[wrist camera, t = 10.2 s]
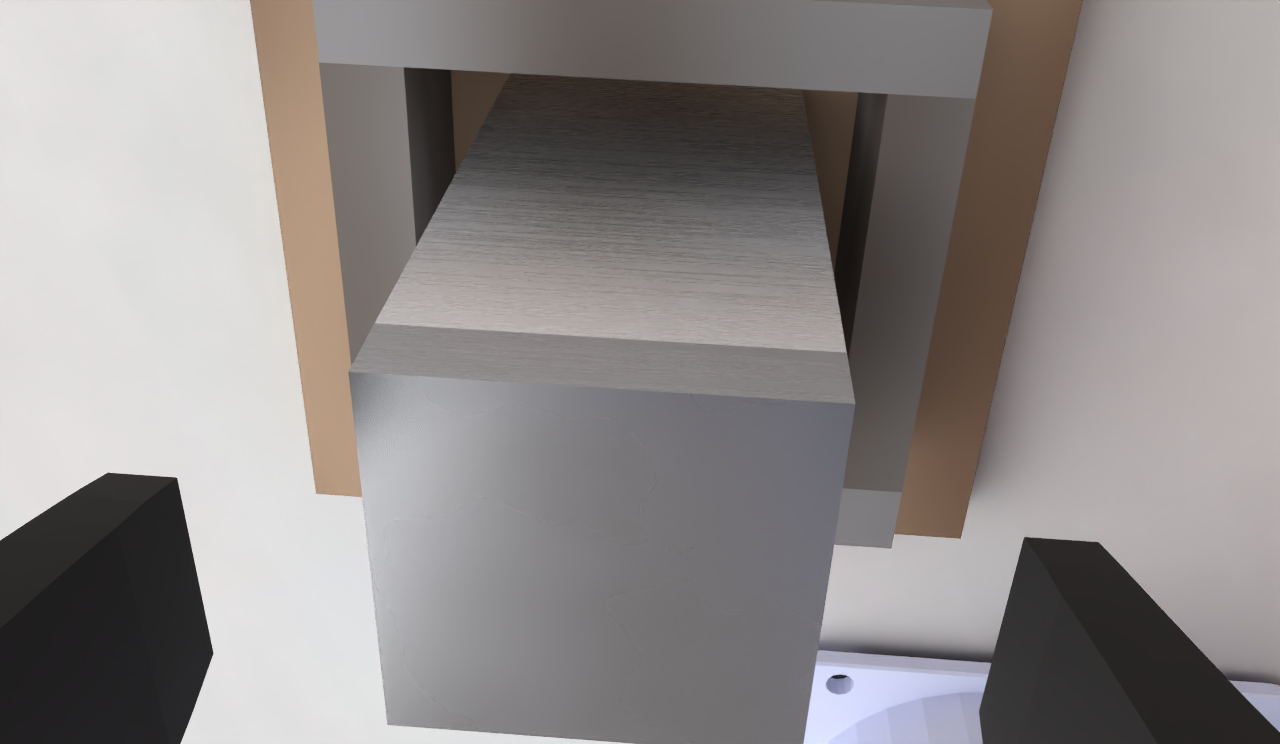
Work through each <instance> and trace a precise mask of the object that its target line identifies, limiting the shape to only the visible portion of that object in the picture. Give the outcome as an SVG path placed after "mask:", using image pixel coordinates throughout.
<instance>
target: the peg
mask: <svg viewBox="0 0 1280 744" xmlns="http://www.w3.org/2000/svg"><path fill="white" fill-rule="evenodd" d="M348 373H349V382H350V391H351V400H352V409H353V418H354V427H355V436H356V445H357V454H358V463H359V472H360V481H361V490H362V499H363V508H364V517H365V526H366V535H367V544H368V553H369V562H370V571H371V580H372V589H373V598H374V607H375V616H376V625H377V634H378V643H379V652H380V661H381V670H382V679H383V688H384V697H385V706H386V715H387V724H388V725H397V726H411V727H424V728H437V729H450V730H464V731H477V732H490V733H503V734H516V735H530V736H543V737H556V738H569V739H583V740H596V741H609V742H622V743H636V744H803V743H804V737H805V730H806V724H807V717H808V711H809V704H810V698H811V691H812V685H813V678H814V672H815V665H816V658H817V652H818V645H819V639H820V632H821V626H822V619H823V613H824V606H825V600H826V593H827V587H828V580H829V574H830V567H831V560H832V554H833V547H834V541H835V534H836V528H837V521H838V515H839V508H840V502H841V495H842V489H843V482H844V476H845V469H846V462H847V456H848V449H849V443H850V436H851V430H852V423H853V417H854V410H855V398H854V392H853V386H852V381H851V375H850V369H849V363H848V357H847V351H846V345H845V339H844V333H843V327H842V322H841V316H840V310H839V304H838V298H837V292H836V286H835V280H834V274H833V268H832V263H831V257H830V251H829V245H828V239H827V233H826V227H825V221H824V215H823V209H822V203H821V198H820V192H819V186H818V180H817V174H816V168H815V162H814V156H813V150H812V144H811V139H810V133H809V127H808V121H807V115H806V109H805V103H804V97H803V91H802V89H790V88H772V87H754V86H735V85H717V84H699V83H681V82H663V81H645V80H627V79H609V78H591V77H573V76H554V75H536V74H518V73H510V75H509V76H508V78H507V80H506V82H505V84H504V86H503V87H502V89H501V91H500V93H499V95H498V97H497V98H496V100H495V102H494V104H493V106H492V108H491V110H490V111H489V113H488V115H487V117H486V119H485V121H484V122H483V124H482V126H481V128H480V130H479V132H478V134H477V135H476V137H475V139H474V141H473V143H472V145H471V146H470V148H469V150H468V152H467V154H466V156H465V157H464V159H463V161H462V163H461V165H460V167H459V169H458V170H457V172H456V174H455V176H454V178H453V180H452V181H451V183H450V185H449V187H448V189H447V191H446V193H445V194H444V196H443V198H442V200H441V202H440V204H439V205H438V207H437V209H436V211H435V213H434V215H433V217H432V218H431V220H430V222H429V224H428V226H427V228H426V229H425V231H424V233H423V235H422V237H421V239H420V240H419V242H418V244H417V246H416V248H415V250H414V252H413V253H412V255H411V257H410V259H409V261H408V263H407V264H406V266H405V268H404V270H403V272H402V274H401V276H400V277H399V279H398V281H397V283H396V285H395V287H394V288H393V290H392V292H391V294H390V296H389V298H388V300H387V301H386V303H385V305H384V307H383V309H382V311H381V312H380V314H379V316H378V318H377V320H376V322H375V323H374V325H373V327H372V329H371V331H370V333H369V335H368V336H367V338H366V340H365V342H364V344H363V346H362V347H361V349H360V351H359V353H358V355H357V357H356V359H355V360H354V362H353V364H352V366H351V368H350V370H349V371H348Z"/></svg>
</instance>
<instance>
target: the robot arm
mask: <svg viewBox="0 0 1280 744" xmlns="http://www.w3.org/2000/svg"><path fill="white" fill-rule="evenodd" d="M212 656H213V649H212V645H211V640H210V635H209V630H208V625H207V620H206V616H205V611H204V606H203V601H202V596H201V591H200V587H199V582H198V577H197V572H196V567H195V563H194V558H193V553H192V548H191V543H190V538H189V534H188V529H187V524H186V519H185V514H184V509H183V505H182V500H181V495H180V490H179V485H178V480H177V478H174V477H159V476H145V475H131V474H117V473H107V474H105V475H103V476H102V477H100V478H98V479H96V480H95V481H93V482H91V483H89V484H88V485H86V486H84V487H83V488H81V489H79V490H78V491H76V492H75V493H73V494H71V495H70V496H68V497H67V498H65V499H63V500H62V501H60V502H59V503H57V504H56V505H54V506H52V507H51V508H49V509H48V510H46V511H45V512H43V513H42V514H40V515H39V516H37V517H35V518H34V519H32V520H31V521H29V522H28V523H26V524H25V525H23V526H22V527H20V528H19V529H17V530H16V531H14V532H13V533H11V534H10V535H8V536H6V537H5V538H3V539H2V540H0V744H180V743H181V741H182V738H183V736H184V733H185V730H186V728H187V725H188V723H189V720H190V717H191V715H192V712H193V710H194V707H195V704H196V701H197V698H198V695H199V693H200V690H201V687H202V684H203V681H204V678H205V676H206V673H207V670H208V667H209V664H210V661H211V659H212ZM839 674H843V675H846V676H847V677H845V678H842V679H834V678H830V677H832V676H834V675H839ZM803 744H1280V685H1275V684H1271V683H1258V682H1244V681H1231V680H1228V679H1227V678H1226V677H1225V676H1224V675H1223V674H1222V673H1221V672H1220V671H1219V670H1218V669H1217V668H1216V667H1215V665H1214V664H1213V663H1212V662H1211V661H1210V660H1209V659H1208V658H1207V657H1206V656H1205V655H1204V654H1203V653H1202V652H1201V651H1200V650H1199V649H1198V647H1197V646H1196V645H1195V644H1194V643H1193V642H1192V641H1191V640H1190V639H1189V638H1188V637H1187V636H1186V635H1185V634H1184V633H1183V631H1182V630H1181V629H1180V628H1179V627H1178V626H1177V625H1176V624H1175V623H1174V622H1173V621H1172V620H1171V619H1170V618H1169V617H1168V615H1167V614H1166V613H1165V612H1164V611H1163V610H1162V609H1161V608H1160V607H1159V606H1158V605H1157V604H1156V602H1155V601H1154V600H1153V599H1152V598H1151V597H1150V596H1149V595H1148V594H1147V593H1146V592H1145V591H1144V590H1143V588H1142V587H1141V586H1140V585H1139V584H1138V583H1137V582H1136V581H1135V580H1134V579H1133V578H1132V577H1131V576H1130V575H1129V573H1128V572H1127V571H1126V570H1125V569H1124V568H1123V567H1122V566H1121V565H1120V564H1119V563H1118V562H1117V561H1116V560H1115V559H1114V558H1113V557H1112V556H1111V555H1110V554H1109V553H1108V552H1107V550H1106V549H1105V548H1104V547H1103V546H1102V545H1101V544H1100V543H1099V542H1086V541H1072V540H1057V539H1043V538H1029V537H1024V540H1023V544H1022V548H1021V552H1020V556H1019V559H1018V563H1017V567H1016V571H1015V575H1014V578H1013V582H1012V586H1011V590H1010V594H1009V598H1008V601H1007V605H1006V609H1005V613H1004V617H1003V621H1002V624H1001V628H1000V632H999V636H998V640H997V644H996V647H995V651H994V655H993V659H992V663H986V662H972V661H958V660H945V659H931V658H917V657H904V656H890V655H877V654H863V653H849V652H836V651H822V650H818V652H817V658H816V665H815V672H814V678H813V685H812V691H811V698H810V704H809V711H808V717H807V724H806V730H805V737H804V743H803Z"/></svg>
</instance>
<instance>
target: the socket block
mask: <svg viewBox="0 0 1280 744" xmlns="http://www.w3.org/2000/svg"><path fill="white" fill-rule="evenodd" d="M1082 1H1083V0H250V3H251V11H252V18H253V26H254V33H255V41H256V48H257V56H258V63H259V71H260V78H261V86H262V93H263V100H264V108H265V115H266V123H267V130H268V138H269V145H270V153H271V160H272V168H273V175H274V183H275V190H276V198H277V205H278V212H279V220H280V227H281V235H282V242H283V250H284V257H285V265H286V272H287V280H288V287H289V295H290V302H291V309H292V317H293V324H294V332H295V339H296V347H297V354H298V362H299V369H300V377H301V384H302V392H303V399H304V406H305V414H306V421H307V429H308V436H309V444H310V451H311V459H312V466H313V474H314V481H315V489H316V494H328V495H342V496H356V497H362V490H361V481H360V472H359V463H358V454H357V445H356V436H355V427H354V418H353V409H352V400H351V391H350V382H349V373H348V371H349V370H350V368H351V366H352V364H353V362H354V360H355V359H356V357H357V355H358V353H359V351H360V349H361V347H362V346H363V344H364V342H365V340H366V338H367V336H368V335H369V333H370V331H371V329H372V327H373V325H374V323H375V322H376V320H377V318H378V316H379V314H380V312H381V311H382V309H383V307H384V305H385V303H386V301H387V300H388V298H389V296H390V294H391V292H392V290H393V288H394V287H395V285H396V283H397V281H398V279H399V277H400V276H401V274H402V272H403V270H404V268H405V266H406V264H407V263H408V261H409V259H410V257H411V255H412V253H413V252H414V250H415V248H416V246H417V244H418V242H419V240H420V239H421V237H422V235H423V233H424V231H425V229H426V228H427V226H428V224H429V222H430V220H431V218H432V217H433V215H434V213H435V211H436V209H437V207H438V205H439V204H440V202H441V200H442V198H443V196H444V194H445V193H446V191H447V189H448V187H449V185H450V183H451V181H452V180H453V178H454V176H455V174H456V172H457V170H458V169H459V167H460V165H461V163H462V161H463V159H464V157H465V156H466V154H467V152H468V150H469V148H470V146H471V145H472V143H473V141H474V139H475V137H476V135H477V134H478V132H479V130H480V128H481V126H482V124H483V122H484V121H485V119H486V117H487V115H488V113H489V111H490V110H491V108H492V106H493V104H494V102H495V100H496V98H497V97H498V95H499V93H500V91H501V89H502V87H503V86H504V84H505V82H506V80H507V78H508V76H509V75H510V73H518V74H536V75H554V76H573V77H591V78H609V79H627V80H645V81H663V82H681V83H699V84H717V85H735V86H754V87H772V88H790V89H802V91H803V97H804V103H805V109H806V115H807V121H808V127H809V133H810V139H811V144H812V150H813V156H814V162H815V168H816V174H817V180H818V186H819V192H820V198H821V203H822V209H823V215H824V221H825V227H826V233H827V239H828V245H829V251H830V257H831V263H832V268H833V274H834V280H835V286H836V292H837V298H838V304H839V310H840V316H841V322H842V327H843V333H844V339H845V345H846V351H847V357H848V363H849V369H850V375H851V381H852V386H853V392H854V398H855V410H854V417H853V423H852V430H851V436H850V443H849V449H848V456H847V462H846V469H845V476H844V482H843V489H842V495H841V502H840V508H839V515H838V521H837V528H836V534H835V541H834V544H835V545H850V546H864V547H878V548H892V542H893V537H894V534H903V535H918V536H932V537H946V538H961V535H962V530H963V526H964V521H965V517H966V513H967V508H968V504H969V499H970V495H971V490H972V486H973V482H974V477H975V473H976V468H977V464H978V460H979V455H980V451H981V446H982V442H983V438H984V433H985V429H986V424H987V420H988V415H989V411H990V407H991V402H992V398H993V393H994V389H995V385H996V380H997V376H998V371H999V367H1000V363H1001V358H1002V354H1003V349H1004V345H1005V340H1006V336H1007V332H1008V327H1009V323H1010V318H1011V314H1012V310H1013V305H1014V301H1015V296H1016V292H1017V287H1018V283H1019V279H1020V274H1021V270H1022V265H1023V261H1024V257H1025V252H1026V248H1027V243H1028V239H1029V235H1030V230H1031V226H1032V221H1033V217H1034V212H1035V208H1036V204H1037V199H1038V195H1039V190H1040V186H1041V182H1042V177H1043V173H1044V168H1045V164H1046V160H1047V155H1048V151H1049V146H1050V142H1051V137H1052V133H1053V129H1054V124H1055V120H1056V115H1057V111H1058V107H1059V102H1060V98H1061V93H1062V89H1063V84H1064V80H1065V76H1066V71H1067V67H1068V62H1069V58H1070V54H1071V49H1072V45H1073V40H1074V36H1075V32H1076V27H1077V23H1078V18H1079V14H1080V9H1081V5H1082Z"/></svg>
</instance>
